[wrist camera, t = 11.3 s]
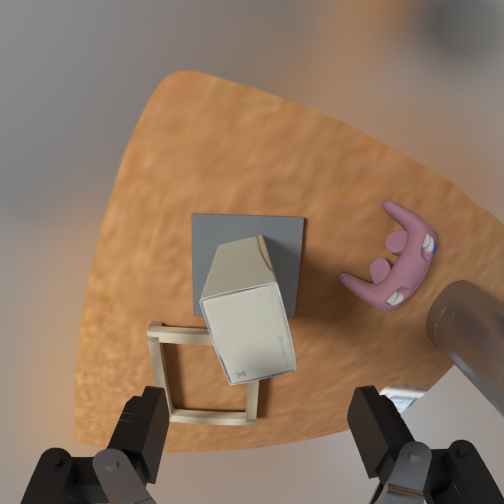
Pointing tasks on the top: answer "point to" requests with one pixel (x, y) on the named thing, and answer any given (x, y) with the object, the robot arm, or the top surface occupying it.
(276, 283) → the skincare box
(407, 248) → the video game controller
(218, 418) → the wooden rectangular frame
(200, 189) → the top surface
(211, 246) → the coaster
